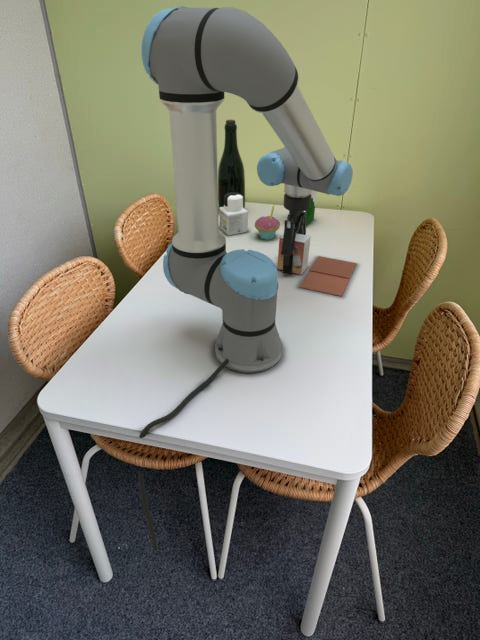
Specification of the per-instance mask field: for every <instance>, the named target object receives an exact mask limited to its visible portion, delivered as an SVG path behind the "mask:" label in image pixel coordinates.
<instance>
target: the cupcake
mask: <svg viewBox="0 0 480 640" xmlns="http://www.w3.org/2000/svg"><path fill="white" fill-rule="evenodd" d="M274 209H275V204H273V205H272V206H271V211H270V215H267V216H262V217H258V219H256V220H255V222H254V227H255V229H256V230H257V231H258V234H259V237H260V239H261V240H265V241H266V240H272V239H274V237H275V235H276V233H277V231H278V230H280V227H281V222H280V221H279V220H278V219H277V218H275V217H274V216H273V214H274Z"/></svg>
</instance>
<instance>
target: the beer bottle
mask: <svg viewBox="0 0 480 640" xmlns="http://www.w3.org/2000/svg"><path fill="white" fill-rule="evenodd" d="M237 131H238V125H237V123H236V120H235V119H226V120H225V123H224V145H223V151H222V154H221V157H220V161H219V163H218V167H217V176H218V211H219V208H220V207H224V195H225V194H227V193H230V192H237V193H240V194H242V196H243V208H244V209H246V174H245V166H244V165H245V164H244V162H243V159H242V156H241V154H240V151H239V147H238V146H239V145H238V132H237Z"/></svg>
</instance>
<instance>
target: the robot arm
mask: <svg viewBox="0 0 480 640" xmlns="http://www.w3.org/2000/svg"><path fill="white" fill-rule="evenodd" d="M140 50H141V52H140V53H141V61H142V65H143V68H144V71H145V73H146V74H148V75H149V79H150V80H151V81H153V82H154V84H156V85H158V86H157V87H158V95H159V102H161V104H163V105H164V106H165V107H166V109H167V110H168V116H169V129H170V141H171V154H172V168H173V180H174V193H175V208H176V220H177V221H176V222H177V232H176V234H174V236H173V237H172V238H171V242H170V243H169V244H168V245H167V246H168V247H166V250H165V252H166V254H164V256H163V259H162V269H163V274H164V276H165V279H166V280H167V282H168V283H169V284H170V285H171V286H172V287H173V288H175V289H177V290H179V291H180V292H181V293H183V294H184V295H185V294H186V295H190V296H192V297H195V298H196V299H199V300H201V301H203V302H206V303H208V304H209V305H212V306H214V307H217V308H219V309H221V315H222V317H221V318H222V324H221V326H220V329H219V333H218V335H217V337H216V340H215V343H214V349H215V356H216V359H217V361H219V363H220V365H219V366H218V367H217V368H216V369H215V371H214V372H213V373H212V374H211V375H210V376H209V377H208V378H207V379H205V380H204V381H203V382H202V383H201V384H200V385H198V386H197V387H196V388H194V390H192V391H191V392H190V393H189V394H187V396H186V397H185V398H184V399H182V401H181V402H180V403H179V404H178V405H177V406H176V407H175V408H174V409H173V410H172V411H170V412H169V413H168V414H167V415H164V416H161V417H158V418H156V419H155V420H153V421H151V422H149V423H148V424H147V425H146V426H145V427H144V428H143V429H142V431H141V432H140V434H139V436H138V438H139V439H143V438H145V436H146V435H147V433H148V432H149V431H150V430H151V429H153V428H154V427H156V426H157V425H160V424H163V423H165V422H167V421H170V419H172V418H174V417H175V416H176V415H177V414H178V413H180V411H182V409H184V407H185V406H186V405H187V404H188V403H189V401H191V400H192V398H194V397H195V396H196V395H197V394H199V393H200V392H202V390H203V389H204V388H206V387H207V386H208V385H209V384H210V383H212V382H213V380H215V379H216V377H217V376H218V375H219V374H220V373H221V372H222V370H223V369H225V368H227V369H229V370H232V371H235V372H237V373H245V374H253V373H255V374H256V373H260V372H265V371H266V370H269V369H272V367H275V365H277V364H278V362H279V361H280V360H281V357H282V353H283V342H282V340H281V336H280V334H279V331H278V328H277V325H276V318H277V303H278V290H279V278H278V277H279V275H278V274H279V273H278V269H277V264H275V262H274V261H273V259H272V258H270V257H269V256H267V255H266V254H264V253H262V252H260V251H256V250H253V249H247V250H246V249H244V248H243V249H242V248H241V249H235V250H231V251H228V252H227V238H226V236H225V234H223V233H222V232H221V231H220V230H219V228H220V226H219V210H218V135H217V134H218V132H217V131H218V128H217V127H218V125H217V110H218V108H219V107H220V106H221V105H222V103H223V102H224V101H225V93H227V94H231V95H234V96H237V97H239V98H241V99H243V101H245V102H246V103H247V105H248V106H249V107H250V108H251V109H252V110H253V111H255V112H257V113H260V114H262V116H263V117H264V118H265V120H266V121H267V122H268V124H269V126H270V127H271V128H272V130H273V131H274V133H275V134H276V136H277V138H278V139H279V141H280V142H281V144H282V145H283V146H284V147H282V148H279V149H276V150H272V151H270V152H267V153H266V154H264V155H263V156H262V157H260V158H259V160H258V162H257V164H256V172H257V177H258V179H259V180H260V182H261V183H262V184H263V185H265V186H267V187H274V186H279V185H280V184H284V187H283V192H284V194H283V208H284V209H286V210H287V211H288V214H287V217H286V220H284V222H283V223H284V224H283V225H284V228H283V234H284V236H283V244H282V251H281V255H284V258H283V270H282V274H285V275H289V276H292V275H293V272H292V267H293V255H294V254H293V248H294V243H295V238H296V233H297V234H302V235H307V226H306V212H307V210H308V209H309V208H310V206H311V193H312V190H313V191H317V193H322V194H326V195H332V196H337V197H341V196H343V195H345V194H346V193H347V191H348V190H349V188H350V186H351V183H352V181H353V176H354V175H353V172H354V171H353V167H352V165H351V163H349V162H347V161H344V160H343V159H342V160H338V159H336V157H335V155H334V152H333V151H332V149H331V147H330V145H329V144H328V141H327V140H326V139H327V138H326V137H325V135H324V133H323V132H322V130H321V128H320V126H319V123H318V122H317V120H316V117H315V116H314V114H313V112H312V111H311V108H310V107H309V104H308V103H307V101H306V98H305V97H304V95H303V93H302V91H301V89H300V87H299V82H300V81H299V79H300V77H299V76H300V75H299V71H298V68H297V67H296V65H295V63H294V61H293V58H291V56H290V55H289V52H288V51H287V49H286V48H285V47H284V45H283V44H282V43H281V41H280V40H279V39H278V38H277V37H276V35H275V34H274V33H273V32H272V31H271V30H270V29H269V27H267V26H266V25H265V24H264V23H263V22H261V21H260V20H259V19H257V18H256V16H254V15H252V14H250V13H249V12H247V11H245V10H242V9H240V8H238V7H237V8H236V7H232V6H231V7H230V6H229V7H228V6H223V7H187V6H183V5H181V6H176V7H171V8H165V9H162V10H160V11H158V12H157V13H156V14H155V15H153V16H152V17H151V19H150V21H149V23H148V24H147V25H146V27H145V29H144V33H143V35H142V39H141V49H140ZM289 212H290V213H289ZM137 472H138V486H139V493H140V497H141V503H142V507H143V510H144V514H145V519H146V523H147V525H148V531H149V534H150V538H151V543H152V546H153V547H152V548H153V551H157V550H158V549H159V547H158V542H157V537H156V532H155V528H154V524H153V520H152V515H151V512H150V509H149V504H148V499H147V494H146V488H145V486H146V485H145V480H144V479H145V478H144V472H141V471H140V470H138V471H137Z"/></svg>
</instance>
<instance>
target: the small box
mask: <svg viewBox="0 0 480 640" xmlns="http://www.w3.org/2000/svg"><path fill="white" fill-rule="evenodd" d="M283 236H284V233H282V234H281V235H280V237H279V239H278V251H277V264H276V268H277V270H281V271H283V258H284V255H281V251H282V244H283ZM311 237H312V236H311V235H309V234H306V235H302V234H297V233H296V238H295V243H294V248H293V254H294V255H293V267H292V274H297V275H300V276H301V275H303V273H304V272H305V270H306V269H307V268H308V264H309V255H310V246H311Z"/></svg>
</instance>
